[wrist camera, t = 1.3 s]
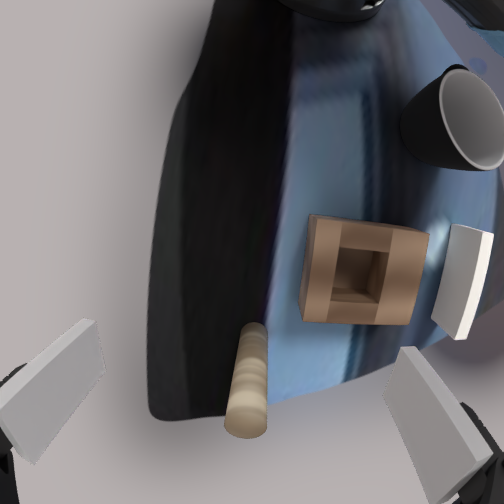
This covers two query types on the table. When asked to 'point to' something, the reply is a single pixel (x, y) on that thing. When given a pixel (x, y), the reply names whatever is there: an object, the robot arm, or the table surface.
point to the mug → (455, 123)
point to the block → (360, 271)
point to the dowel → (249, 384)
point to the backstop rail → (462, 280)
